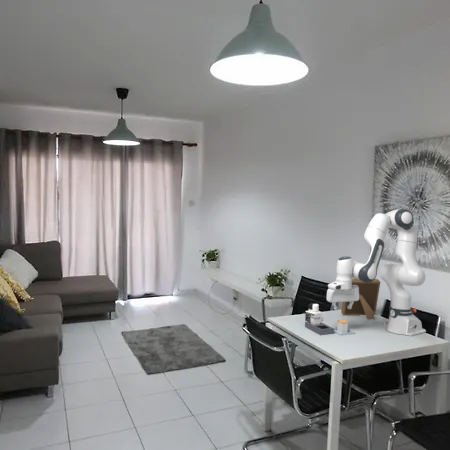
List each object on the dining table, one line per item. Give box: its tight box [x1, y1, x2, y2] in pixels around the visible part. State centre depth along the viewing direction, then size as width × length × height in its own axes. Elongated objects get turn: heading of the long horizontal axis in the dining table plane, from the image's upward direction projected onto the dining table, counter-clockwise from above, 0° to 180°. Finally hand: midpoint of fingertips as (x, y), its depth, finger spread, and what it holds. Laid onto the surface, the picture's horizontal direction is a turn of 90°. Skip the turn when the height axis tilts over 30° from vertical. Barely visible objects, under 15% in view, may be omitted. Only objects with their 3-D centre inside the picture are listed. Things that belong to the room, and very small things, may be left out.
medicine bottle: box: [304, 302, 323, 322], centre depth 261 cm, size 7×7×12 cm
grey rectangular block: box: [311, 315, 322, 325], centre depth 246 cm, size 4×4×7 cm
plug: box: [336, 319, 349, 333], centre depth 240 cm, size 4×4×7 cm
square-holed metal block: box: [304, 321, 335, 336], centre depth 243 cm, size 16×9×4 cm, turn 21°
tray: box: [333, 327, 356, 337], centre depth 240 cm, size 10×10×2 cm
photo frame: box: [340, 278, 381, 321], centre depth 275 cm, size 15×22×25 cm
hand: (342, 309), depth 239 cm, fingers open, 8 cm apart
